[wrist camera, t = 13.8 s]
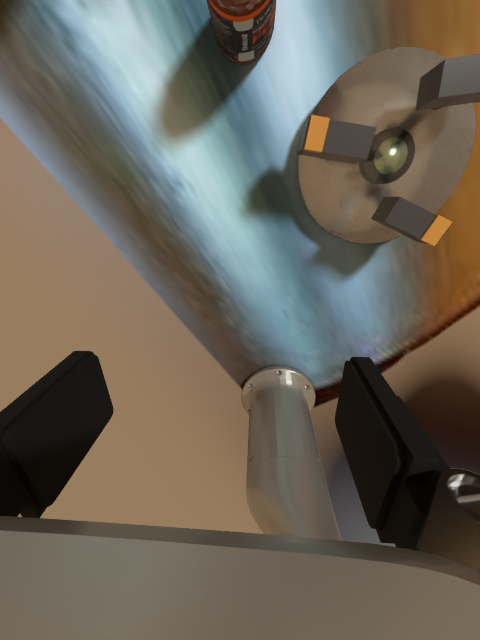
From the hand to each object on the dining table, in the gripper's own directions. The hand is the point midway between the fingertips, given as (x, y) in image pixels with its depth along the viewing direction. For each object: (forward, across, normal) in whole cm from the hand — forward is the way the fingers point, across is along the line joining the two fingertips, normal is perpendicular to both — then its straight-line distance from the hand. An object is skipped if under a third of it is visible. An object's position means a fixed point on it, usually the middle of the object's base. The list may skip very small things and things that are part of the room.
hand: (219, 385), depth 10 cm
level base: (+28, -15, -10) cm, 33 cm away
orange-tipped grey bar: (+26, -8, -11) cm, 29 cm away
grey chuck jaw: (+26, -17, -4) cm, 31 cm away
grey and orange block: (+26, -19, -15) cm, 36 cm away
